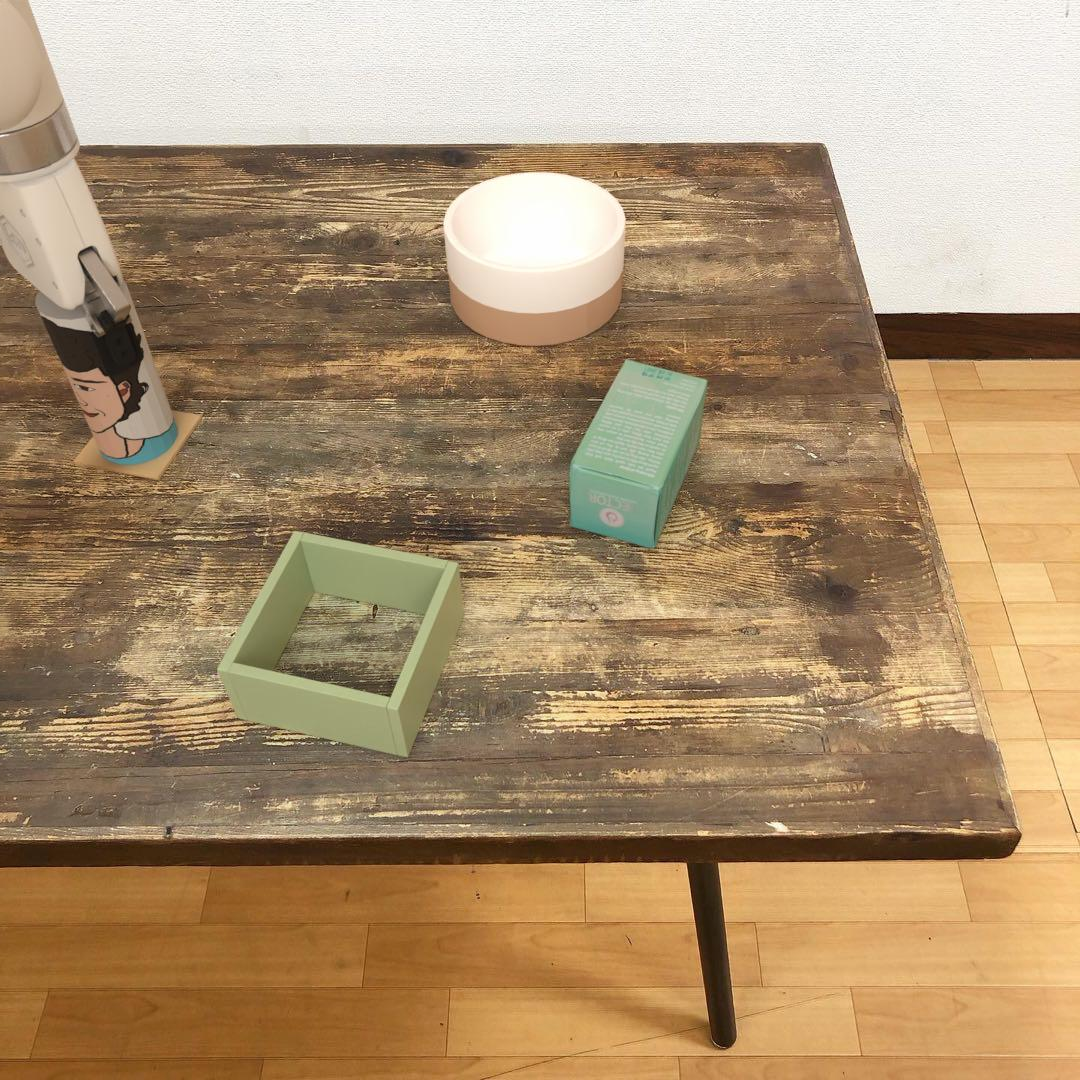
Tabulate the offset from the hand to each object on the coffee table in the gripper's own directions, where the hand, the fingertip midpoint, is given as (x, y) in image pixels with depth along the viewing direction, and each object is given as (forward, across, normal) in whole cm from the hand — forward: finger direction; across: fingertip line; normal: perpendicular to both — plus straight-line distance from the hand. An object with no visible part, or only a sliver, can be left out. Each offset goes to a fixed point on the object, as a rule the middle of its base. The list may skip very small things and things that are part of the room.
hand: (100, 344), depth 85 cm
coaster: (+11, 0, 0) cm, 11 cm away
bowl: (+11, +10, +39) cm, 42 cm away
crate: (+11, +32, -2) cm, 34 cm away
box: (+11, +35, +26) cm, 45 cm away
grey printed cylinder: (+10, 0, 0) cm, 10 cm away
